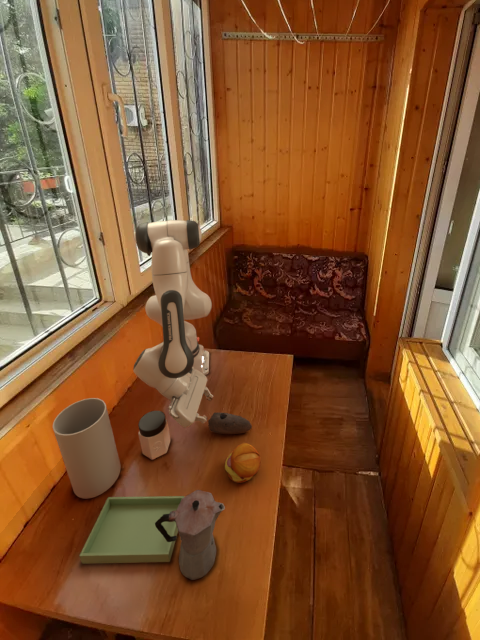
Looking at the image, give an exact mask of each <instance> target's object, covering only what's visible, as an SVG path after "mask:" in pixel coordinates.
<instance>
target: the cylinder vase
mask: <svg viewBox="0 0 480 640" xmlns="http://www.w3.org/2000/svg"><path fill="white" fill-rule="evenodd" d="M107 407H108V406H107V404H106V402H105V401H104V400H103V399H101V398H98V397H89V398H84V399H80V400H78V401H75V402H73V403H72V404H69V405H68V406H67V407H65V408H64V409H63V410H61V411H60V412H59V413H58V414H57V415H56V417H55V418H54V420H53V422H52V430H53V433H54V437H55V440H56V442H57V445H58V449H59V451H60V454H61V457H62V460H63V463H64V466H65V471H66V472H67V476H68V479H69V482H70V484H71V489H72V490H73V493H74V495H75V496H76V497H78V498H80V499H83V500H84V499H87V500H88V499H92V498H96V497H98V496H100V495H102V494H104V493H105V492H107V491H108V490H109V489H110V488H111V487H112V486H113V485H114V484H115V483H116V482H117V480H118V478H119V476H120V475H121V474H120V473H121V468H122V467H121V466H122V465H121V460H120V457H119V452H118V448H117V445H116V440H115V437H114V432H113V428H112V425H111V420H110V416H109V411H108V408H107Z"/></svg>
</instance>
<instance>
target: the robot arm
mask: <svg viewBox="0 0 480 640" xmlns="http://www.w3.org/2000/svg"><path fill="white" fill-rule="evenodd" d="M202 238H203V232H202V229H201V226H200V225H199V223H198V222H197V221H195V220H192V219H186V220H182V219H181V220H180V219H167V220H161V221H154V222H153V221H152V222H143V223H140V224H138V225H137V226H136V228H135V231H134V242H135V245H136V247H137V249H138V250H139V251H140V252H141V253H144V254H146V255H147V256H148V257H150V256H151V264H150V265H151V267H150V268H151V279H152V285H153V289H154V293H155V295H151V296H150V297H149V298H148V299H147V301H146V303H145V308H144V309H145V314H146V316H147V317H148V318H149V319H150V320H151V321H154V322H155V323H156V324H158V325H160V327H162V340H163V341H162V342H160V343H158V344H156V345H155V346H152V347H149V348H145V349H144V350H142V351H141V353H140V354H139V356H138V357H137V358H136V361H135V362H134V364H133V368H132V370H133V371H132V372H133V373H134V375H135V376H136V377H137V378H138V379H139V380H141V382H143V383H144V384H146V385H147V386H148V387H150V388H153V389H156V390H157V391H158V393H159V394H160V395H162V396H163V397H165V398H166V399H167V400H169V401H170V403H169V405H168V406H167V410H168V414H169V416H170V417H171V418H172V419H173V420H174V421H175V422H176V423H177V424H179V425H180V426H181V427H182V428H184V429H186V428H190V427H191V426H192V425H193V424H194V423H195V422H199V423H201V424H203V425H204V424H205V423H207V422H208V416H206V415H205V414H203V415H200V414H199V408H200V405H201V403H202V399H203V395H204V396H205V397H206V398H205V400H206V401H208V402H212V401H213V400H214V395H213V394H212V392H211V391H210V390H209V388H208V387H207V383H208V377H207V375H208V374H209V373H210V352H209V351H208V350H205V347H204V346H203V344H199V342H200V337H199V336H197V330H196V328H195V325H194V324H192V323H190V322H188V321H187V320H198V319H202V318H206V317H208V316H209V315H210V313H211V310H212V307H213V303H212V299H211V297H210V296H209V294H207V293H205V292H204V291H202V290H201V289H200V288H199V287H198V285H196V283H195V281H194V280H193V277H192V272H191V266H190V257H189V251H191V250H194V249H197V248H198V247H199V246H200V245H201V242H202ZM188 250H189V251H188Z"/></svg>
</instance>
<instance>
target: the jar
mask: <svg viewBox="0 0 480 640" xmlns="http://www.w3.org/2000/svg"><path fill="white" fill-rule="evenodd" d="M137 425H138V433H137V434H138V440H139V444H140V449H141V454H142V455H143V456H145V457H147V458H148V459H150V460H152V461H153V460H155V459H156V458H159V457H161V456H163V455H165V454H167V453H168V450H169V447H170V444H171V441H172V440H171V434H170V428H169V422H168V419H167V418H166V414H165V412H163V411H162V410H151V411H148V412H146V413H145V414H144V415H142V417H141V418H140V419H139V420H138V424H137Z"/></svg>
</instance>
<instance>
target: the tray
mask: <svg viewBox="0 0 480 640" xmlns="http://www.w3.org/2000/svg"><path fill="white" fill-rule="evenodd" d="M184 497H185V495H165V496H164V495H163V496H162V495H158V496H157V495H156V496H154V495H153V496H151V495H150V496H108V497H107V498H106V500H105V503H104V504H103V507H102V508H101V510H100V513H99V515H98V517H97V519H96V521H95V523H94V525H93V527H92V529H91V531H90V533H89V535H88V537H87V539H86V541H85V543H84V545H83V547H82V549H81V552H80V553H79V554H78V555H79V556H78V558H79V559H80V561H81V564H83V565H84V564H130V563H138V564H139V563H170V562H171V559H172V555H173V552H174V548H175V543H176V541H172V542H167V541H166V539H165V538H164V537H163V535H162V534H161V533H160V531H158V529H157V528H156V526H155V522H156V521H158V519H160V517H162V516H163V514H170V512H171V511H176V510H177V508H178V506H179V504H180V502H181V500H182V498H184ZM161 524H162V525H163V526H164V528H165V530H166V531H167V533H168V534H169V535H170V536H177V537H178V534H179V532H178V528H177V526H176V522H175V521H173V522H163V523H161Z"/></svg>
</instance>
